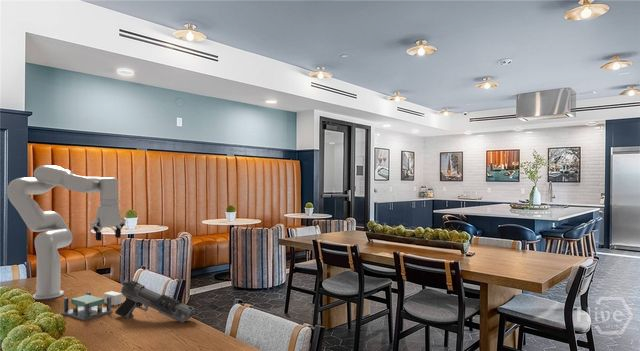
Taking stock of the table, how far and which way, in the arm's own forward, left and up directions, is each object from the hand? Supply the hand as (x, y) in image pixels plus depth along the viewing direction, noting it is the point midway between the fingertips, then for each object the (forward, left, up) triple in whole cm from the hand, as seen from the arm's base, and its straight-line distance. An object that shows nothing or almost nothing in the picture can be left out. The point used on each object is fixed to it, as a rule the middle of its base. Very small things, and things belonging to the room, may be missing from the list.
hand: (108, 238), depth 190 cm
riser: (+9, -3, -28) cm, 30 cm away
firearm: (+43, -8, -29) cm, 52 cm away
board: (+12, -17, -24) cm, 32 cm away
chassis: (+12, -17, -28) cm, 35 cm away
